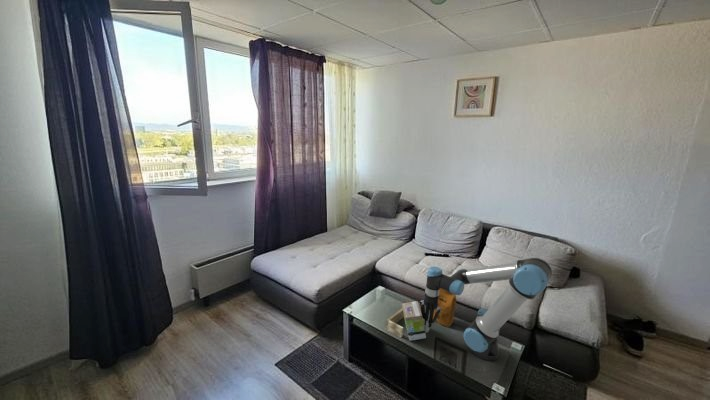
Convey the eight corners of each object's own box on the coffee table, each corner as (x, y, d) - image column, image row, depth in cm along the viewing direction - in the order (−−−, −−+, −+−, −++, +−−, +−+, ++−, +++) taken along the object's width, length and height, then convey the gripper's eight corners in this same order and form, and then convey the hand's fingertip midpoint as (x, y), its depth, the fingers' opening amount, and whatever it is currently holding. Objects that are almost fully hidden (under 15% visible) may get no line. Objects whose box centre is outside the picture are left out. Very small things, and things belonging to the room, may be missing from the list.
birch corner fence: (417, 322, 178) (418, 314, 176) (401, 337, 163) (401, 328, 162) (402, 315, 184) (402, 307, 183) (385, 329, 170) (386, 320, 169)
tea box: (427, 338, 160) (422, 315, 157) (409, 341, 161) (404, 318, 158) (421, 321, 175) (417, 300, 172) (405, 324, 175) (400, 303, 172)
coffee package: (437, 313, 189) (441, 282, 184) (455, 322, 180) (460, 290, 175) (429, 319, 182) (433, 287, 177) (447, 329, 173) (452, 296, 169)
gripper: (445, 296, 159) (440, 333, 164) (424, 287, 167) (420, 322, 172) (440, 301, 153) (434, 339, 158) (418, 292, 161) (413, 328, 166)
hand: (427, 330), depth 165 cm, fingers closed
